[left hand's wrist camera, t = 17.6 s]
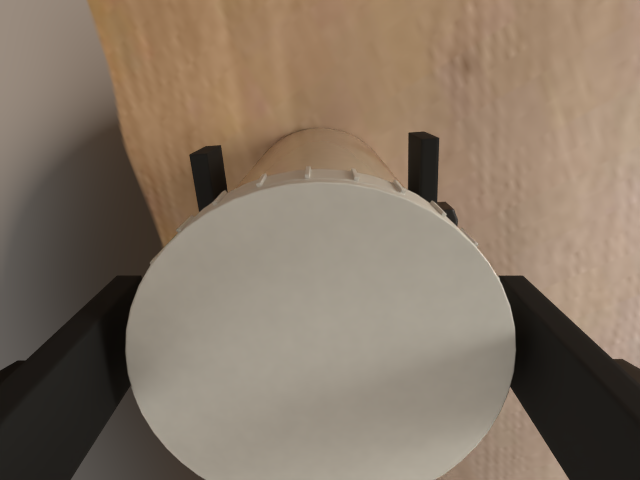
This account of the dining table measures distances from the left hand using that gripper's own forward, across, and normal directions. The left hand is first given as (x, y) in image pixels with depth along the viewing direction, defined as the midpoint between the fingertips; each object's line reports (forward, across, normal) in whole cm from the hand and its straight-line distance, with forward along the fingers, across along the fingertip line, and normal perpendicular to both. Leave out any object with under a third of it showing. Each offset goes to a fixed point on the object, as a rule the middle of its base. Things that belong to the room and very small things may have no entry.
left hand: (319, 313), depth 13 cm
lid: (-3, 0, 0) cm, 3 cm away
